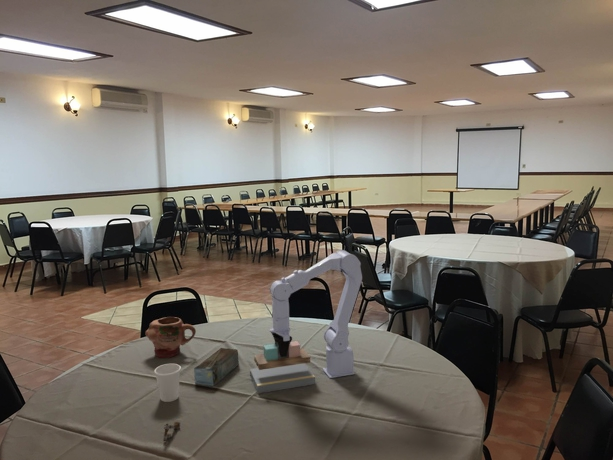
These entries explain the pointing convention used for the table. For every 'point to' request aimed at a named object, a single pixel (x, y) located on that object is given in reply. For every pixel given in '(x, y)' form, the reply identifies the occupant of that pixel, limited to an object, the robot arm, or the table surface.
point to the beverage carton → (216, 367)
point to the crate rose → (294, 349)
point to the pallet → (281, 360)
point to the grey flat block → (281, 377)
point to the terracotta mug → (168, 336)
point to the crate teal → (270, 352)
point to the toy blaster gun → (167, 427)
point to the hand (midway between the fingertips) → (282, 353)
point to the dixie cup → (168, 381)
